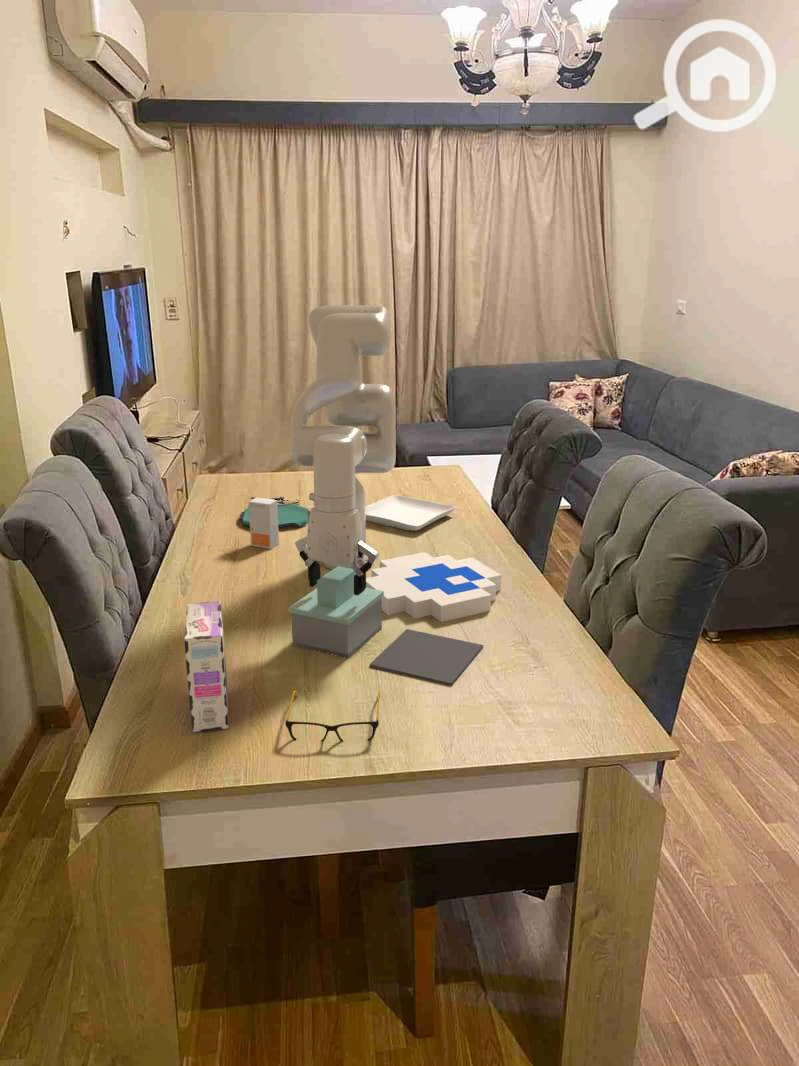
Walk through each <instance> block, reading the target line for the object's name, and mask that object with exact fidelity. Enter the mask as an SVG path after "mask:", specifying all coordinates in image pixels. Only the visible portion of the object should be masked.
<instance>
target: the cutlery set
mask: <svg viewBox="0 0 799 1066" xmlns="http://www.w3.org/2000/svg"><path fill="white" fill-rule="evenodd" d="M256 497H258V496H256ZM256 497H254V496H251V497H250V500H249V501H251V499H255V498H256ZM284 497H285V496H279V497H267V498H268V499H278V500H280V499H284ZM258 498H260V497H258ZM282 501H285V500H280V501H277V508H278V528H283V527H285V528H286V527H292V526H296V525H298V526H299V527H300V528H303V526H304V527H306V525H308V521H309V515H310V510H309V508H307V507H304V506H301V505H300V500H297V501H299V502H298V503H297V502H295V501H294V503H295V504H283V503H285V502H282ZM279 502H280V503H279ZM297 505H299V506H297ZM239 518H240V521H241V522H242V523H243V524H244V526H248V527H250V516H249V507H247V508H245V509H244V510H243V511H242V512H241V513H240V514H239Z"/></svg>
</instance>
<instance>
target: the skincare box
mask: <svg viewBox="0 0 799 1066" xmlns="http://www.w3.org/2000/svg"><path fill="white" fill-rule="evenodd" d="M268 498H269V497H259V498H258V496H256V498H255V499H253V500H251V499H250V500H251V501H250V500H248V508H249V516H250V526H249V533H250V546H251V547H258V548H261V549H269V550H272V549H274V548H275V547H277V546H278V545H280V538H279V537H280V535H279V527H278V508H277V504H278V503H277V502H278V500H274V499H268Z"/></svg>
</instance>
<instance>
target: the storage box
mask: <svg viewBox="0 0 799 1066" xmlns="http://www.w3.org/2000/svg"><path fill="white" fill-rule="evenodd" d="M382 612H383V610H382V598H381V599H379V600H378V601H377V602H376V603H374V604H373V605H372V606H371V607H370V608H368V609H367V610H366V611H365V612H363V613H362V614H361V615H360V616H359V617H357V618H356V619H355V620H354V621H352V622H351V623H350V624H349V625H345V624H341V623H336V622H331V621H327V620H322V619H317V618H313V617H308V616H303V615H299V614H294V613H290V614H291V616H290V617H291V637H292V638H291V639H292V646H294V647H297V648H302V649H306V650H311V651H314V650H315V652H318V651H320V652H319V653H322V652H323V654H327V653H328V654H327V655H331V654H333V655H332V656H335V655H336V657H340V658H344V657H345V659H349V658H350V657H351V656H353V655H354V654H355V653H356V652H357V651H358V650H359V649H361V646H362V647H363V646H364V645H365V644H366V643H367V642H369V641H370V640H371V639H372V638H373V637H374V636H375V635H376V634H377V633H379V631H381V630H382V628H383V622H382V621H383V613H382ZM372 636H373V637H372ZM371 637H372V638H371ZM370 638H371V639H370ZM353 653H354V654H353ZM352 654H353V655H352Z"/></svg>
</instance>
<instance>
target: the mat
mask: <svg viewBox="0 0 799 1066" xmlns="http://www.w3.org/2000/svg"><path fill="white" fill-rule="evenodd" d="M483 648H484V645H483V644H481V643H477V642H475V643H474V642H470V641H466V640H461V639H456V638H451V637H447V636H442V635H438V634H433V633H429V632H423V631H418V630H413V629H409V628H406V629H405V630H404V631H403V632H401V634H399V636H398V637H396V638H395V640H393V641H392V643H390V644H389V645H388V646H387V647H386V648H385V649H384V650H383V651H382V652H380V653H379V655H378V656H376V657H375V658H374V659H373V661H371V662H370V663H369V668H370V667H371V668H374V669H378V670H383V671H386V672H392V673H395V674H400V675H404V676H407V677H412V678H417V679H421V680H425V681H430V682H434V683H436V684H437V683H438V684H441V685H442V684H443V685H446V686H450V687H452V686H453V685H454V684H455V683H456V681H457V680H458V679H459V678H460V677H461V675H462V674H463V673H464V672H465V670H466V669H467V668H468V666H470V665H471V663H472V662H473V660H474V659H475V658H476V657H477V656H478V654H479V653H480V652H481V651H482V649H483Z"/></svg>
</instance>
